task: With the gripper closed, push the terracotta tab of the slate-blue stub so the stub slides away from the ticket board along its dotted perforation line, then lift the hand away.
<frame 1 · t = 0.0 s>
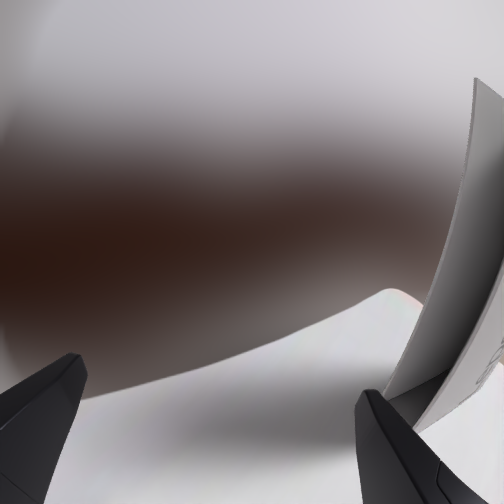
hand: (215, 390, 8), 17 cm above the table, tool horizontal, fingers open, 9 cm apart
brochure: (434, 398, 27), on the table
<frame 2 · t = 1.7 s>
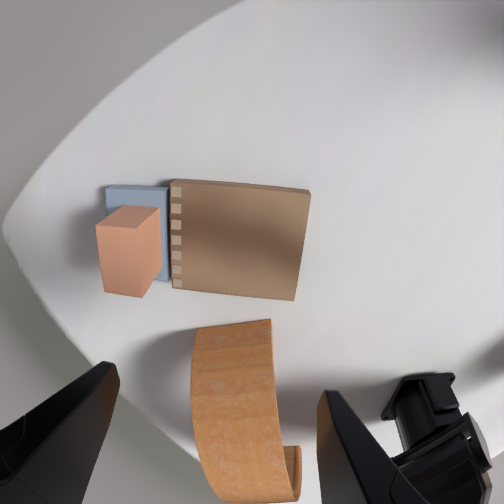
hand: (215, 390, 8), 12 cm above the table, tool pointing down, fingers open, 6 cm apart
stub: (127, 244, 17), point 3 cm above the table, slide at 0.0 cm
arch: (260, 401, 27), on the table
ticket: (237, 237, 19), on the table
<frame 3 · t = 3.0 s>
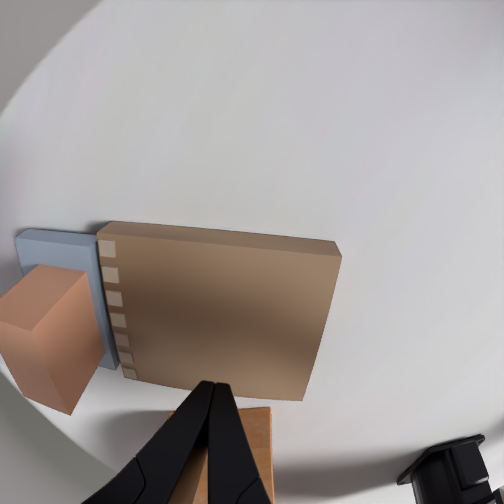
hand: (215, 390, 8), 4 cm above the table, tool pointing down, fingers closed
stub: (46, 327, 10), point 3 cm above the table, slide at 0.0 cm
arch: (256, 475, 19), on the table
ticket: (214, 314, 12), on the table
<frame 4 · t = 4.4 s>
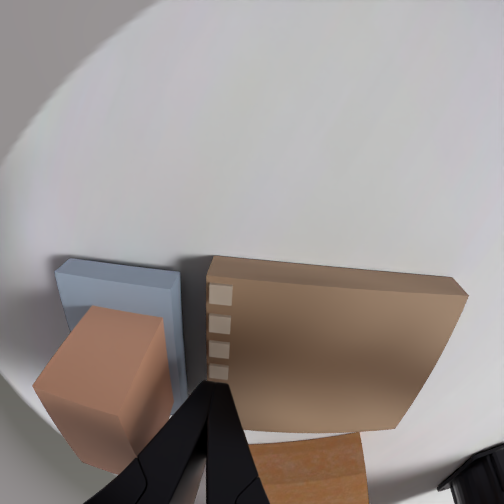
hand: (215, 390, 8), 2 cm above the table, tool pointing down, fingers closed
stub: (107, 382, 8), point 3 cm above the table, slide at 0.7 cm, touching gripper
arch: (311, 494, 17), on the table
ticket: (324, 354, 10), on the table
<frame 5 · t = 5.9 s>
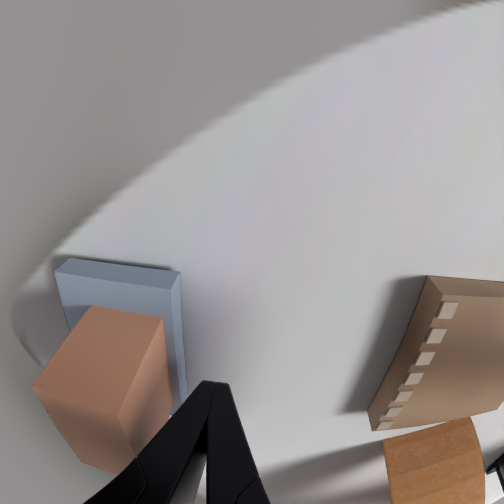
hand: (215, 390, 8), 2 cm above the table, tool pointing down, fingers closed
stub: (107, 382, 8), point 3 cm above the table, slide at 7.5 cm, touching gripper
arch: (394, 484, 17), on the table
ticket: (469, 352, 10), on the table
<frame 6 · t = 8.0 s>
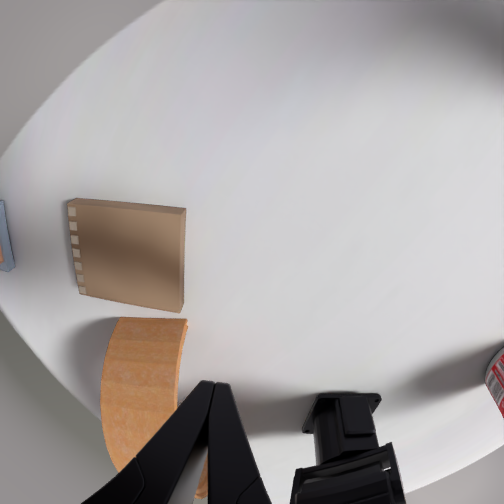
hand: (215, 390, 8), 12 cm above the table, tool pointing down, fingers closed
arch: (180, 396, 27), on the table
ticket: (128, 251, 20), on the table
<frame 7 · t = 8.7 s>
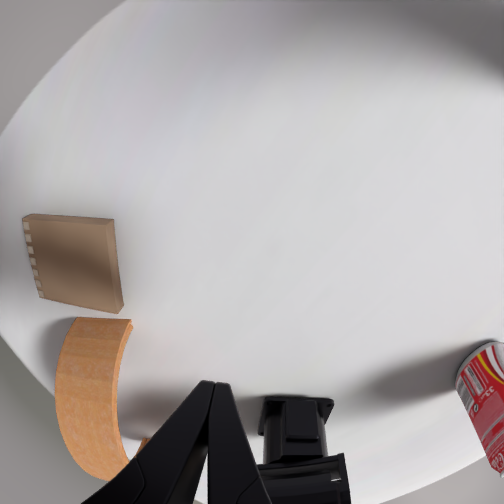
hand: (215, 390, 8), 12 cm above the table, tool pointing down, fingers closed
soda can: (478, 361, 24), on the table
arch: (138, 393, 27), on the table
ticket: (74, 259, 21), on the table
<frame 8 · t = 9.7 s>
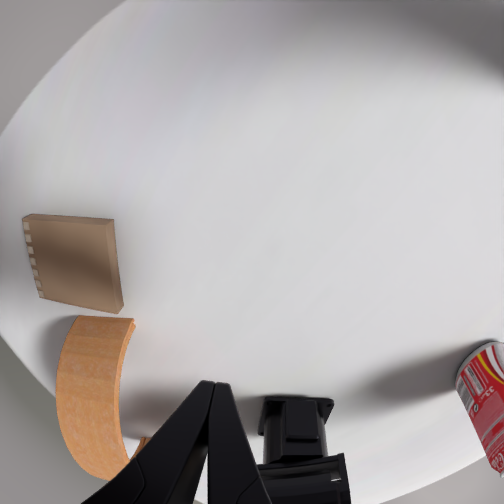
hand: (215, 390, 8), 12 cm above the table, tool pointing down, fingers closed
soda can: (478, 361, 24), on the table
arch: (138, 393, 27), on the table
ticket: (74, 259, 21), on the table
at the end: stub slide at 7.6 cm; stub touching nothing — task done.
